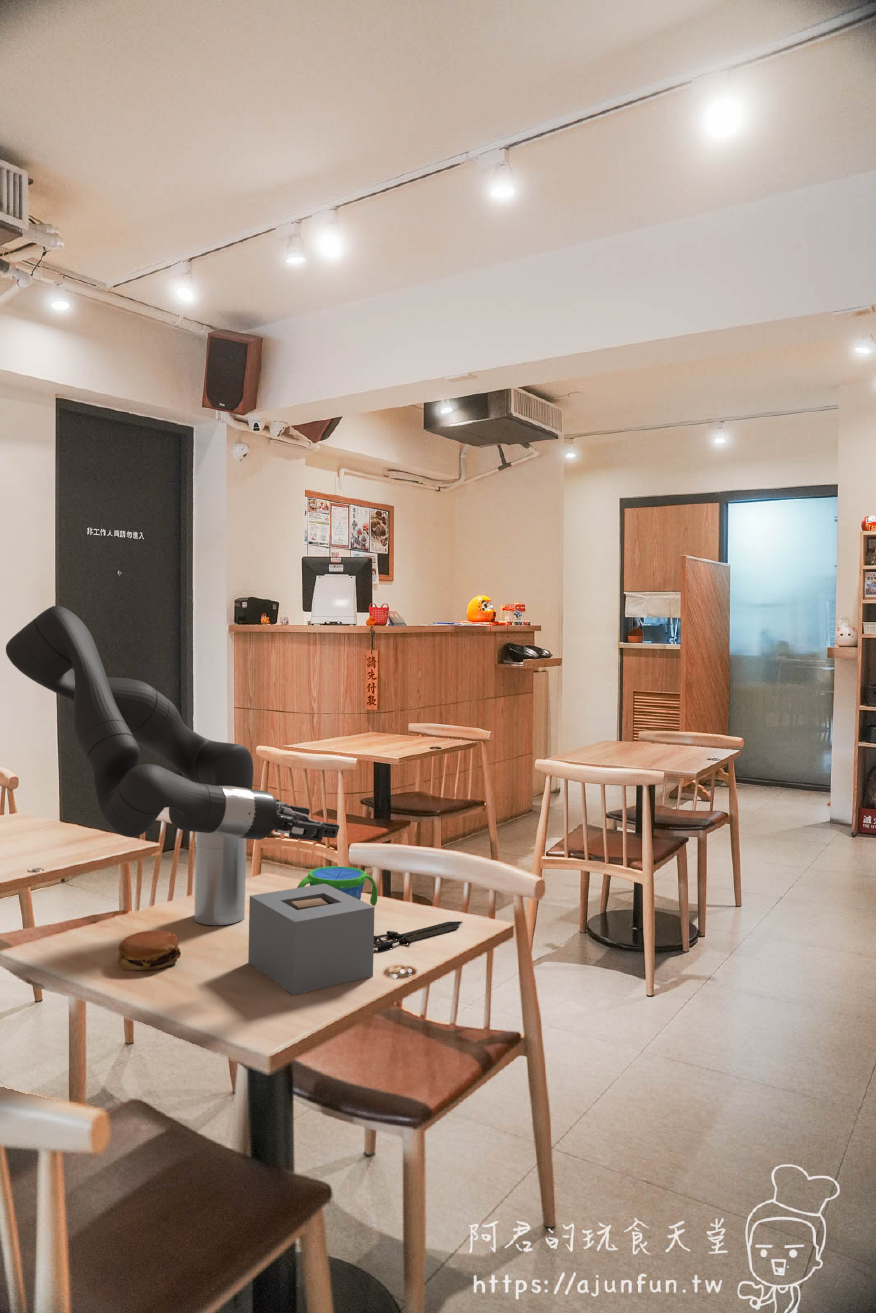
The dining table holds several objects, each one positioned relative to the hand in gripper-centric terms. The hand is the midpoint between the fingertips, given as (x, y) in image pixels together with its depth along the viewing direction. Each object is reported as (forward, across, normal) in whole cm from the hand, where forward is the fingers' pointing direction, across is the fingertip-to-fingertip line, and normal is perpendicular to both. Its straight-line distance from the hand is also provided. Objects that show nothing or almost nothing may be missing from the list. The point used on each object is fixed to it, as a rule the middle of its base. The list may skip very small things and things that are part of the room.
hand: (321, 822), depth 145 cm
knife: (+25, -4, +18) cm, 31 cm away
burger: (-15, +14, +30) cm, 36 cm away
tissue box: (+2, -5, +23) cm, 23 cm away
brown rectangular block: (+1, -6, +22) cm, 22 cm away
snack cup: (+18, +9, +22) cm, 29 cm away
